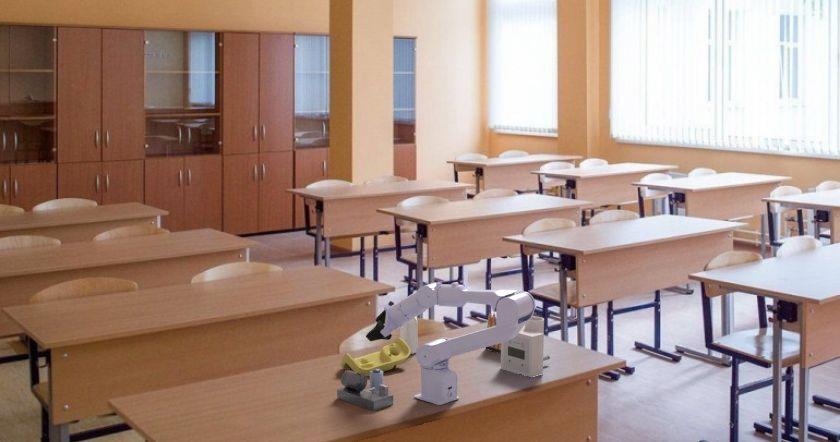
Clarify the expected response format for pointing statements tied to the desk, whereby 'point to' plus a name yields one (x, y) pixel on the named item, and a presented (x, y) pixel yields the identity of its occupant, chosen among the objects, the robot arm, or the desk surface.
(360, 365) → the plastic component
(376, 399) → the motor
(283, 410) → the desk surface
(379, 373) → the grey capped cylinder
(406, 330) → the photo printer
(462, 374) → the desk surface
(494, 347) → the ammunition clip
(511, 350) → the thermostat
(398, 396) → the desk surface
